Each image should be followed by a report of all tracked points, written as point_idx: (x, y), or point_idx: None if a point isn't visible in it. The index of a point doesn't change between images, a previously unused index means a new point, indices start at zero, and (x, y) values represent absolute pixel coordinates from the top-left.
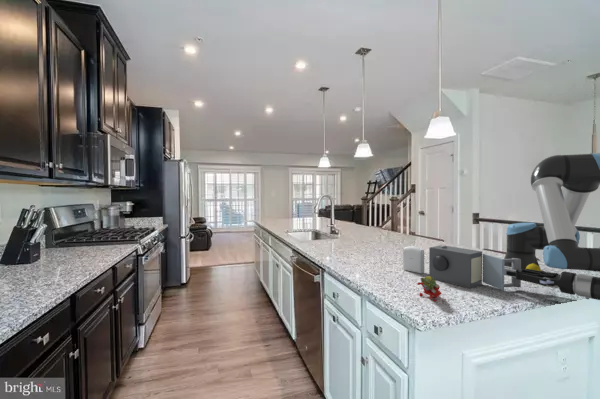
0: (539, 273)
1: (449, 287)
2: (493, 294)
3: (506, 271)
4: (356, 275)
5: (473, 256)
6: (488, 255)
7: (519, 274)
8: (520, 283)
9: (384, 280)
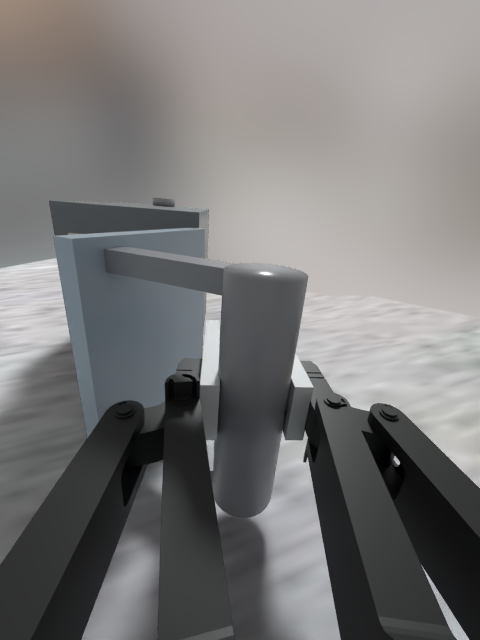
0: (370, 595)
1: (46, 346)
2: (13, 464)
3: (183, 360)
4: (44, 266)
5: (93, 223)
6: (169, 229)
7: (97, 435)
8: (247, 495)
9: (29, 283)
